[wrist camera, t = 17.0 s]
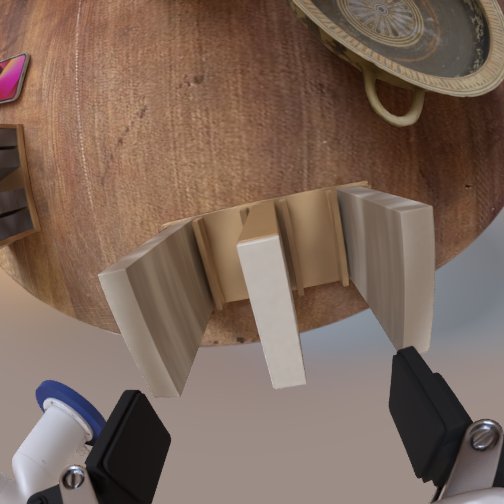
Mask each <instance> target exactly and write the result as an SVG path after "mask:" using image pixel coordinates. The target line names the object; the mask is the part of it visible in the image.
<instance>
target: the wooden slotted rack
mask: <svg viewBox="0 0 504 504" xmlns="http://www.w3.org/2000/svg"><path fill="white" fill-rule="evenodd" d="M270 201H274V204H275V208H276V213H277V219H278V223H279V228H280V233H281V238H282V242H283V247H284V252H285V257H286V262H287V267H288V272H289V277H290V282H291V287H292V290H297V292H298V296H302V295H304V288H307V287H311V286H316V285H321V284H326V283H330V282H335V281H340V282H341V283H342V285H343V287H345V286H349V278H350V279H351V280H352V281H353V283H354V284H355V286H356V287H357V289H358V290H359V292H360V293H361V295H362V296H363V298H364V299H365V301H366V302H367V304H368V306H369V307H370V309H371V310H372V312H373V313H374V315H375V316H376V318H377V319H378V321H379V323H380V324H381V326H382V327H383V329H384V331H385V332H386V334H387V335H388V337H389V338H390V340H391V342H392V343H393V345H394V347H395V348H396V350H397V351H398V350H399V349H403V348H406V347H409V346H414V347H415V349H416V350H417V351H418V353H419V354H422V353H424V352H427V351H429V349H430V341H431V332H432V321H433V309H434V308H433V307H434V291H435V290H434V289H435V236H434V218H433V207H432V206H430V205H427V204H423V203H420V202H417V201H413V200H410V199H406V198H403V197H399V196H395V195H392V194H388V193H384V192H380V191H376V190H372V187H371V185H368V182H367V181H359V182H353V183H347V184H342V185H336V186H330V187H325V188H320V189H314V190H309V191H304V192H299V193H294V194H289V195H284V196H279V197H274V198H269V199H265V200H260V201H255V202H251V203H246V204H242V205H237V206H233V207H229V208H224V209H220V210H216V211H212V212H207V213H203V214H199V215H195V216H191V217H187V218H183V219H179V220H175V221H171V222H167V223H164V224H163V225H162V229H160V230H158V232H159V234H157V235H156V236H154V237H153V238H151V239H150V240H148V241H147V242H145V243H144V244H142V245H141V246H139V247H138V248H136V249H135V250H133V251H132V252H130V253H129V254H127V255H126V256H124V257H123V258H121V259H120V260H118V261H117V262H116V263H114V264H113V265H111V266H110V267H108V268H107V269H106V270H104V271H103V272H101V273H100V274H98V278H99V280H100V283H101V286H102V288H103V291H104V293H105V296H106V298H107V301H108V303H109V306H110V308H111V311H112V313H113V315H114V318H115V320H116V322H117V325H118V327H119V329H120V331H121V334H122V336H123V338H124V340H125V342H126V344H127V346H128V348H129V350H130V353H131V355H132V357H133V359H134V361H135V363H136V364H137V366H138V368H139V370H140V372H141V374H142V376H143V377H144V380H145V381H146V383H147V385H148V387H149V389H150V390H151V392H152V394H153V396H154V397H180V396H181V394H182V391H183V388H184V386H185V383H186V380H187V378H188V375H189V372H190V369H191V366H192V364H193V361H194V359H195V356H196V353H197V350H198V348H199V345H200V343H201V340H202V337H203V335H204V332H205V329H206V327H207V324H208V321H209V319H210V316H211V313H212V311H213V308H214V305H216V308H217V311H219V310H223V307H224V304H225V303H226V302H232V301H238V300H243V299H249V294H248V290H247V286H246V282H245V279H244V275H243V271H242V267H241V263H240V259H239V255H238V251H237V241H238V238H239V236H240V233H241V231H242V229H243V226H244V224H245V222H246V219H247V217H248V215H249V212H250V210H251V207H252V206H253V205H256V204H261V203H266V202H270Z"/></svg>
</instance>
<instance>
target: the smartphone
mask: <svg viewBox="0 0 504 504" xmlns="http://www.w3.org/2000/svg"><path fill="white" fill-rule="evenodd" d="M29 59H30V55H29V54H27V53H23V54H20V55H17V56H14V57H11V58H9V59H6V60H3V61H1V62H0V104H1V103H6V102H11V101H15V100H16V99H17V98H18V97H19V95H20V92H21V88H22V84H23V80H24V76H25V72H26V69H27V66H28V62H29Z"/></svg>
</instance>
